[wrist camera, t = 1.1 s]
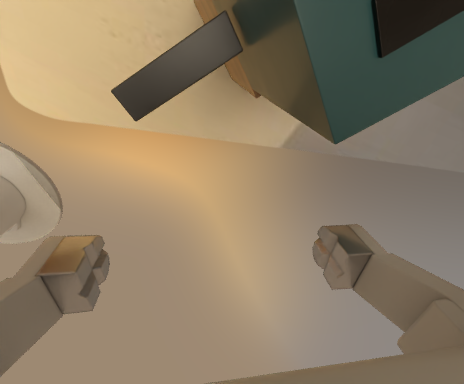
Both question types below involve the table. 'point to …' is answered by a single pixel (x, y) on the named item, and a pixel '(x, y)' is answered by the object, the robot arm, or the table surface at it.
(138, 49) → the table surface
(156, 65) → the lever
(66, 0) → the table surface
